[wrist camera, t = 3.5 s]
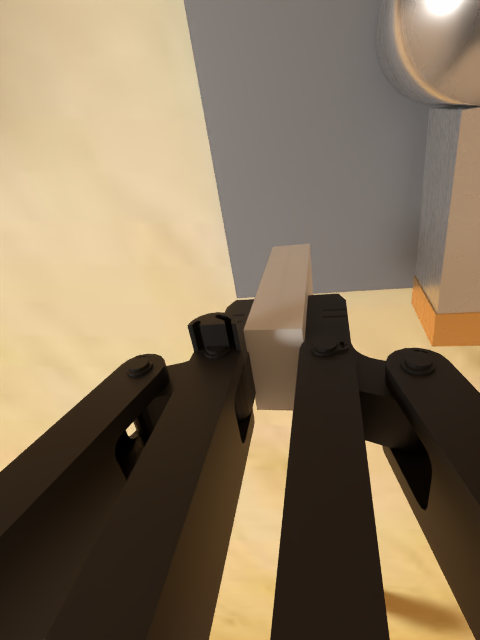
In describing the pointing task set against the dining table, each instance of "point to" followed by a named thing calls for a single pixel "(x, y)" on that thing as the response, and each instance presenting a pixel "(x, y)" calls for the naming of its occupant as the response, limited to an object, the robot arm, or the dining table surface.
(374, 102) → the grey base plate
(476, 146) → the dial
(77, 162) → the dining table surface
